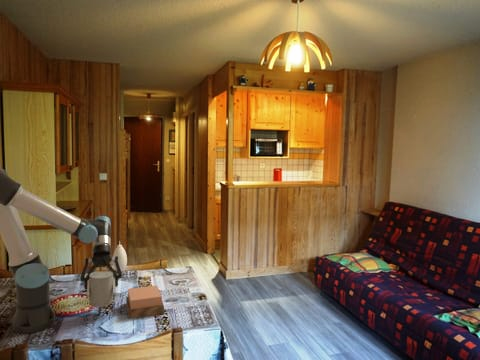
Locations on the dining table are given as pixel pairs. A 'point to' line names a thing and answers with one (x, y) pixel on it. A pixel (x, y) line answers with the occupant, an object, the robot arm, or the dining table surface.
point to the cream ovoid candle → (120, 257)
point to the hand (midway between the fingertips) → (101, 294)
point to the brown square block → (144, 297)
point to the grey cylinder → (101, 288)
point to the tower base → (143, 310)
